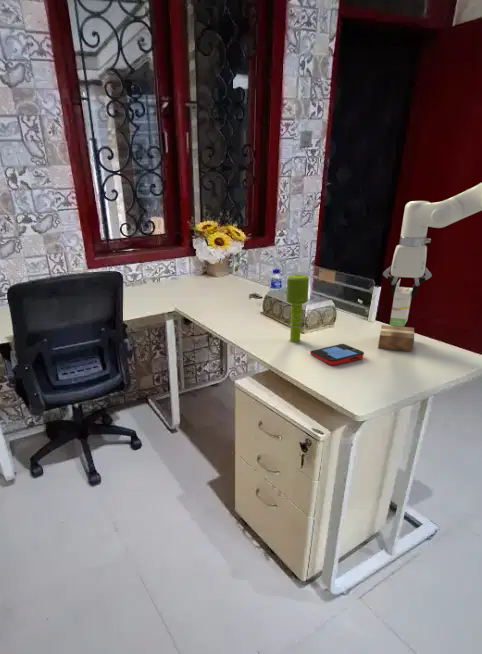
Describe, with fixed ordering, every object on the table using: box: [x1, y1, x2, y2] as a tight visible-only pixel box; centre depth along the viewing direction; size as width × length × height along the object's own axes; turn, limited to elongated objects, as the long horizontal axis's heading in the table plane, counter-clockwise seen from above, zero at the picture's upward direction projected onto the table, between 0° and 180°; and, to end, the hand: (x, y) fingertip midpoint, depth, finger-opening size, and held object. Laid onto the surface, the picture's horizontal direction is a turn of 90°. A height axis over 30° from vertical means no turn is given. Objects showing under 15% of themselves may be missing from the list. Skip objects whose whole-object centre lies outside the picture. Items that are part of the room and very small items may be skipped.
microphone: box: [286, 274, 310, 343], centre depth 154 cm, size 8×8×25 cm
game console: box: [309, 343, 365, 366], centre depth 144 cm, size 14×13×2 cm
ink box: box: [389, 279, 413, 327], centre depth 144 cm, size 9×5×15 cm, turn 148°
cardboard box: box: [377, 324, 415, 353], centre depth 150 cm, size 11×11×5 cm
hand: (403, 295), depth 143 cm, fingers closed on ink box, 5 cm apart
